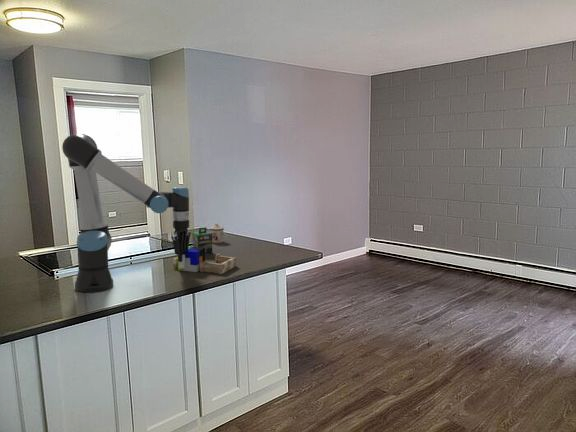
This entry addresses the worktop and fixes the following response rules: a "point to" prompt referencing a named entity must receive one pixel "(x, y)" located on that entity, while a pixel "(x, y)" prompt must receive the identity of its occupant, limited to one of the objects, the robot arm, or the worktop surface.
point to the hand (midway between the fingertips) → (181, 267)
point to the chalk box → (202, 240)
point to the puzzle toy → (193, 259)
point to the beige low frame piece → (214, 264)
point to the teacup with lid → (217, 233)
